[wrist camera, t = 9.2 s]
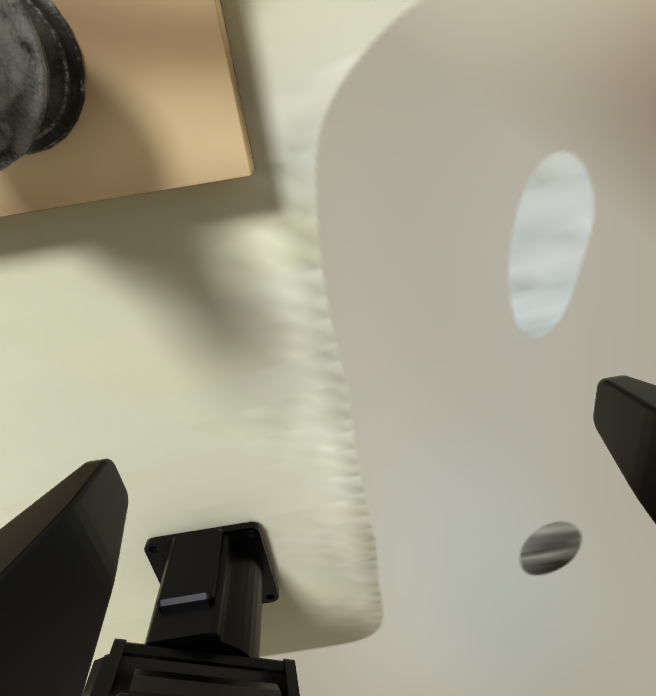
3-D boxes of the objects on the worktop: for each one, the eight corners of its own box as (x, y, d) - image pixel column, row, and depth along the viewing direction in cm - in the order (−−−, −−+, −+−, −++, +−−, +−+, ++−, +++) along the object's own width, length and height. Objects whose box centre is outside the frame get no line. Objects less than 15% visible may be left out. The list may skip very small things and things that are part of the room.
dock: (254, 168, 19) (249, 178, 16) (-100, 226, 19) (-159, 245, 16) (190, -143, 15) (170, -192, 12) (-263, -67, 15) (-374, -100, 12)
